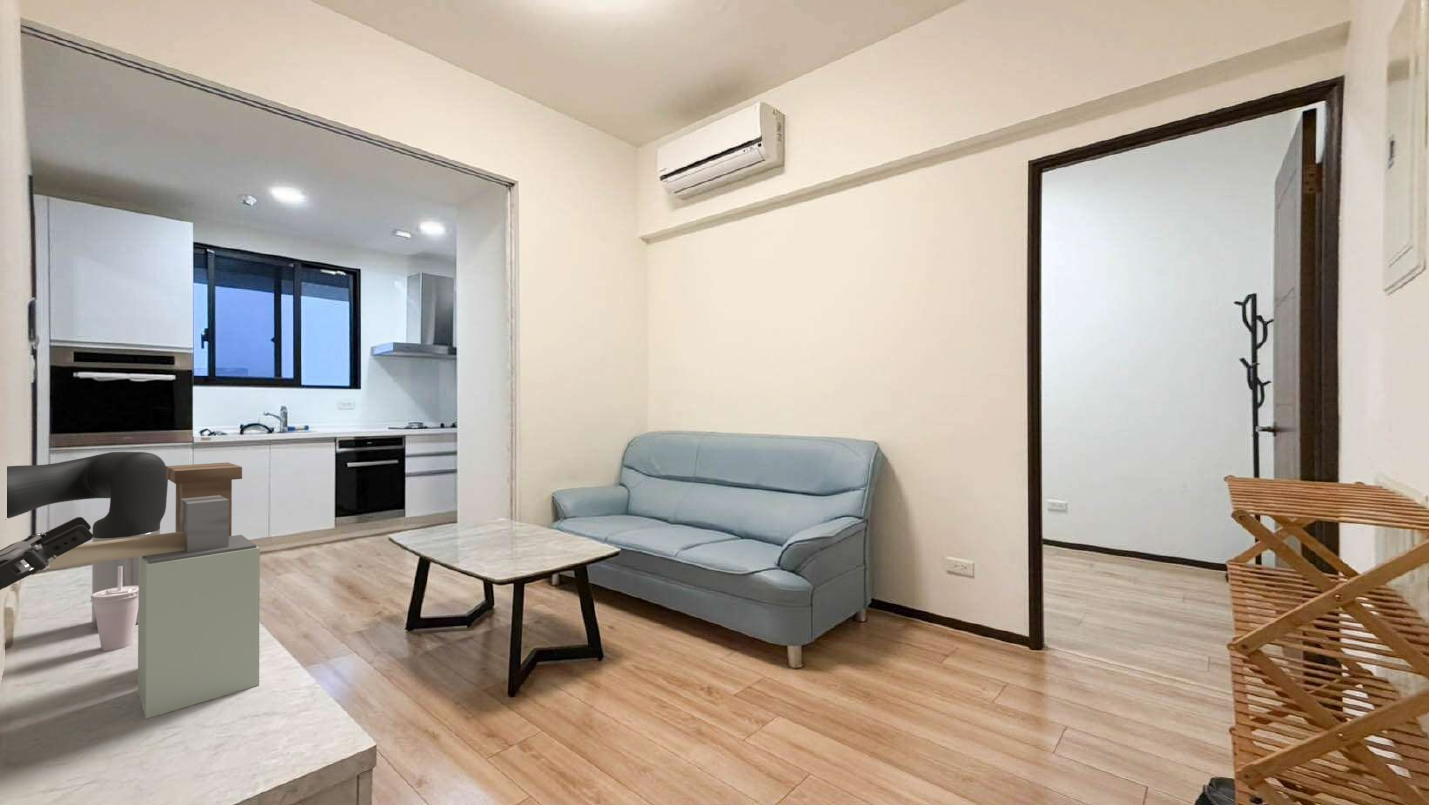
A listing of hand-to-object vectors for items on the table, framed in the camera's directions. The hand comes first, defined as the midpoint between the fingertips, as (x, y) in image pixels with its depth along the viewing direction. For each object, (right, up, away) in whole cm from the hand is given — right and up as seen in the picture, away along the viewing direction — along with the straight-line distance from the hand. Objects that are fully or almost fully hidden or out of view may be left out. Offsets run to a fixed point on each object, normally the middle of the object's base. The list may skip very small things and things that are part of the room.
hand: (87, 526), depth 75 cm
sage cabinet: (+7, -26, +8) cm, 28 cm away
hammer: (+3, -5, +4) cm, 7 cm away
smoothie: (-21, -27, +23) cm, 41 cm away
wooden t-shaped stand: (-1, -26, +18) cm, 32 cm away
